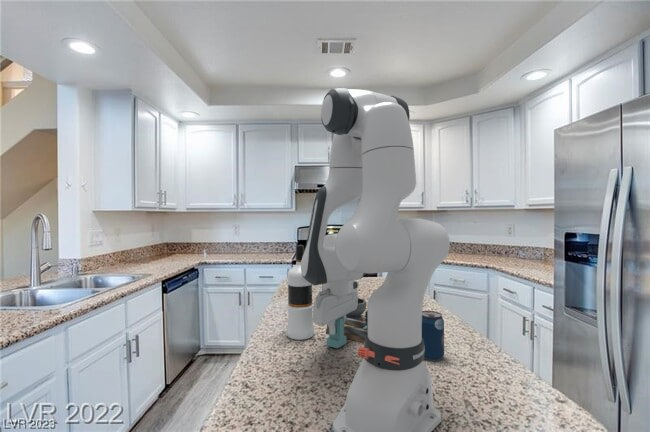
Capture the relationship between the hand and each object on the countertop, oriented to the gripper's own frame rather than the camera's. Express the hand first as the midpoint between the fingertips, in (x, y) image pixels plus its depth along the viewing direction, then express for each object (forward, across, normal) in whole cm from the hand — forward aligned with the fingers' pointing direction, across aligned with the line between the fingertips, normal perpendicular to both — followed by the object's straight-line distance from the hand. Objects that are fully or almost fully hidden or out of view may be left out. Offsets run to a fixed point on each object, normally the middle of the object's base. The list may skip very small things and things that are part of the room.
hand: (336, 331), depth 94 cm
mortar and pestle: (+4, +25, +8) cm, 27 cm away
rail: (+4, +11, 0) cm, 12 cm away
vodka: (+4, 0, +15) cm, 15 cm away
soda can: (+5, +9, -26) cm, 27 cm away
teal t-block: (+4, 0, 0) cm, 4 cm away
